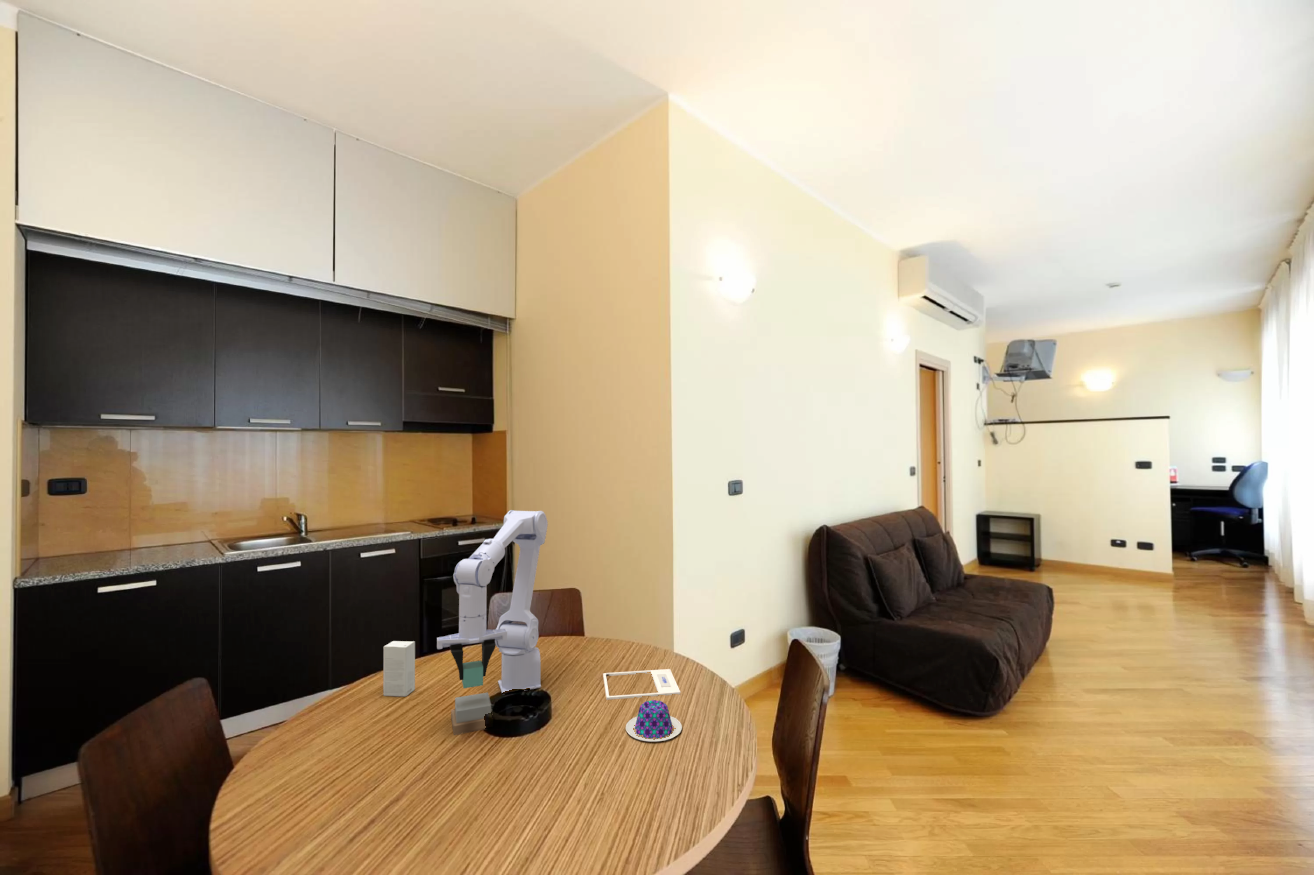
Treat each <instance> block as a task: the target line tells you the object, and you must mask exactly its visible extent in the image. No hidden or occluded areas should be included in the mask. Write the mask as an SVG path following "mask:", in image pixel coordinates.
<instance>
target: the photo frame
mask: <svg viewBox="0 0 1314 875" xmlns="http://www.w3.org/2000/svg"><path fill="white" fill-rule="evenodd" d="M647 672H651V673H650V675H651V674H652V675H651V678H652V677H653V678H652V681H653V680H654V681H653V684H654V686H655V688H656V689H655V690H656V692H651V693H650V692H647V693H634V694H621V695H618V694H617V695H610V694H609V692H610V691H609V687H608V680H607V676H609V677H610V676H614V677H615V676H625V675H628V674H629V675H637V674H636V673H645V674H648V673H647ZM672 672H673V671H672V670H671V668H667V669H663V668H662V669H651V670H633V671H620V672H619V671H618V672H615V671H614V672H605V673H602V676H603V683H604V691H605V698H606V701H608V700H622V699H634V697H637V698H643V697H642V696H651V697H659V696H658V695H665V696H673V695H672V694H678V695H681V694H680V693H681V690H680V688H679V686H678V683H677V682H676V679H675V677H674V675H673V673H672ZM657 691H658V692H657Z"/></svg>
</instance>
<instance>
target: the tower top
mask: <svg viewBox="0 0 1314 875" xmlns="http://www.w3.org/2000/svg"><path fill="white" fill-rule="evenodd" d="M454 709H455V714H456V723H461V722H467V721H472V720H478V719H483V718H484V716H485V714H488V713H491V712H492V703H491V699H490V695H489V692H488V691H487V692H483V693H482V692H481V693H476V694H469V695H464V696H457V697H454Z"/></svg>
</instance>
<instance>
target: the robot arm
mask: <svg viewBox="0 0 1314 875" xmlns="http://www.w3.org/2000/svg"><path fill="white" fill-rule="evenodd" d="M548 522H549V521H548V518H547V515H546V513H545V512H544V511H543V510H538V511H537V510H535V511H534V510H513V509H510V510H509V511H507V513H506V514H505V515H504V517H503V524H502V526H501V528H500V529H499V530H498V531H497V532H496V534H495V536H494V537H493V538H486V539H485V540H484V541H483V542H482V544H480V546H479V547H478V548H477V549H475V551H474V552H473V553H471V555H470V556H469V557H468V558H463V559H462V560H460V561H459V562H458V563H457V564H456V566H455V567H454V572H453V575H452V576H453V582H454V584H455V585H456V592H457V594H458V599H459V600H458V604H459V605H458V633H454V634H448V635H445V636H439V637H436V649H437V650H442V649H443V648H448V647H449V649H450V653H451V655H452V657H453V659H454V661H455V663H456V666H457V671H458V676H459V681H462V680H463V663H464V650H463V649H464V648H463V645H472V644H478V643H481V662H482V665H483V678H484V677H486V676H487V669H488V666H489V662H490V660H491V657H492V654H493V653H494V651H495V649H496V647H497V648H498V652H500V653H501V679H499V680H497V683H498V686H499V689H500V692H501V694H502V693H503V692H505V691H509V690H512V689H526V688H530V690H534V689H539V688H541V687H542V685H541V673H542V672H541V668H542V666H541V665H542V664H541V654H540V653H541V652H540V649H539V647H537V644H538V641H539V619H538V618H537V617H536V616H535V614H533V613H532V612H531V606H532V600H533V599H532V598H533V594H534V593H533V592H534V586H535V581H536V575H537V567H538V561H539V556H540V550H541V546H542V545H544V544H545V542H546V538H547V536H546V535H547V532H548V531H547V530H548V525H549V524H548ZM512 542H513V543H514V544H516V545H518V547H519V553H518V558H517V559H518V560H517V565H516V572H515V576H514V581H513V582H514V583H513V587H512V588H513V590H512V594H511V595H512V596H511V600H510V606H509V609H508V610H507V611H506V612H504V613H503V614H501V616H499V619H498V624H497V625H496V626H497V627H496V628H495V629H487V594H488V593H487V588H488V587H487V585H488V584H490V582H491V580H492V576H493V573H494V572H495V567H496V566H497V565H498V563H499V562H500V561H501V560H502V559H503V558H504V557H505V555H506V548H507V546H509V544H511V543H512ZM515 622H517V623H515Z"/></svg>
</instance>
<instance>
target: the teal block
mask: <svg viewBox="0 0 1314 875" xmlns="http://www.w3.org/2000/svg"><path fill="white" fill-rule="evenodd" d="M461 684H462V687H463V689H469V688H475V687H481V686H484V677H483V665H482V659H481V660H474V661H469V662H467V661H466V662H463V680H461Z"/></svg>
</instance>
